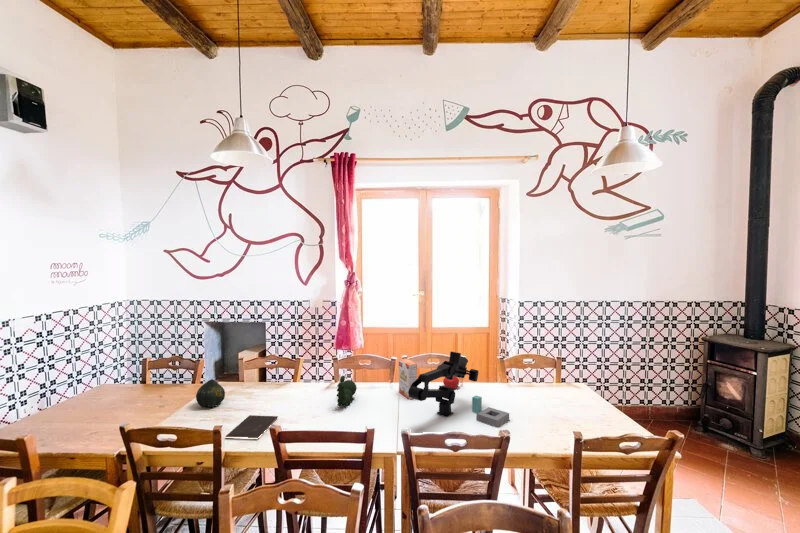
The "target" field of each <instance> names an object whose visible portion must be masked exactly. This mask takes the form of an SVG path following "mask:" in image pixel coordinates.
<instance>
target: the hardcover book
mask: <svg viewBox="0 0 800 533" xmlns="http://www.w3.org/2000/svg"><path fill="white" fill-rule="evenodd" d="M278 418H279V416H276V415H253V414H252V415H248V416H247V417H246V418H245V419H244V420H242V421H241V422H240V423H239V424H238V425H236V426H235V427H234V428H233V429H232V430H231V431H229V433H227V434H226V435H225V437H248V438H258V437H259V436H260V435H261V434H263V433H264V431H265V430H267V429H268V430H269V429H270V428H269V426H270V425H272V426H273V425H274V424H275V423H276V422H277V421H278ZM276 420H277V421H276ZM275 421H276V422H275ZM274 422H275V423H274ZM273 423H274V424H273ZM268 430H267V431H268ZM264 434H265V433H264ZM264 434H263V435H264Z"/></svg>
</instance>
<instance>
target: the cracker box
mask: <svg viewBox="0 0 800 533" xmlns="http://www.w3.org/2000/svg"><path fill="white" fill-rule="evenodd" d="M416 379H418V364H417V363H416V362H414V361H412V360H411V359H408V357H407V358H401V359H400V358H399V359H398V391H399V392H398V393H400V394H401V395H402V394H403V395H402V396H404V397H405V398H406V397H407V398H406V399H407V400H409V399H410V400H414V399H413V398H410V397H409V394H408V391H409V388H410V387H411V385H412V383H413V382H414V381H415V380H416Z"/></svg>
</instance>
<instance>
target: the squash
mask: <svg viewBox="0 0 800 533" xmlns="http://www.w3.org/2000/svg"><path fill="white" fill-rule="evenodd" d="M225 397H226V391H225V389H224V387H223V386H222V385H220V384H219V383H218V382H217V381H216V379H213V378H211V379H209V380H208V381H206V382H205V383H204V384H202V385H201V386H200V387H199V389H198V390H197V392H196V394H195V400H196V402H197V404H198V405H199V406H200V407H208V408H210V407H212V408H214V407H216V406H215V405H218V406H219V405H220V404H222V402H223V401H224V400H225ZM213 406H214V407H213Z"/></svg>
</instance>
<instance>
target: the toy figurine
mask: <svg viewBox="0 0 800 533" xmlns="http://www.w3.org/2000/svg"><path fill="white" fill-rule="evenodd" d="M345 379H346V377H345V375H341V376H340V378H339V383H338V384H337V385H336V387H337V389H336V392H337V393H336V397H337V400H336V402H337V406H338V407H341V406H342V405H344V407H348V406H350V405H351V403H352V402H353V401H354V398H353V397H354V395H355V394H356V392H357V389H358V388H357V384H356V383H355V381H353V380H352V379H347V380H345ZM341 404H342V405H341Z"/></svg>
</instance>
